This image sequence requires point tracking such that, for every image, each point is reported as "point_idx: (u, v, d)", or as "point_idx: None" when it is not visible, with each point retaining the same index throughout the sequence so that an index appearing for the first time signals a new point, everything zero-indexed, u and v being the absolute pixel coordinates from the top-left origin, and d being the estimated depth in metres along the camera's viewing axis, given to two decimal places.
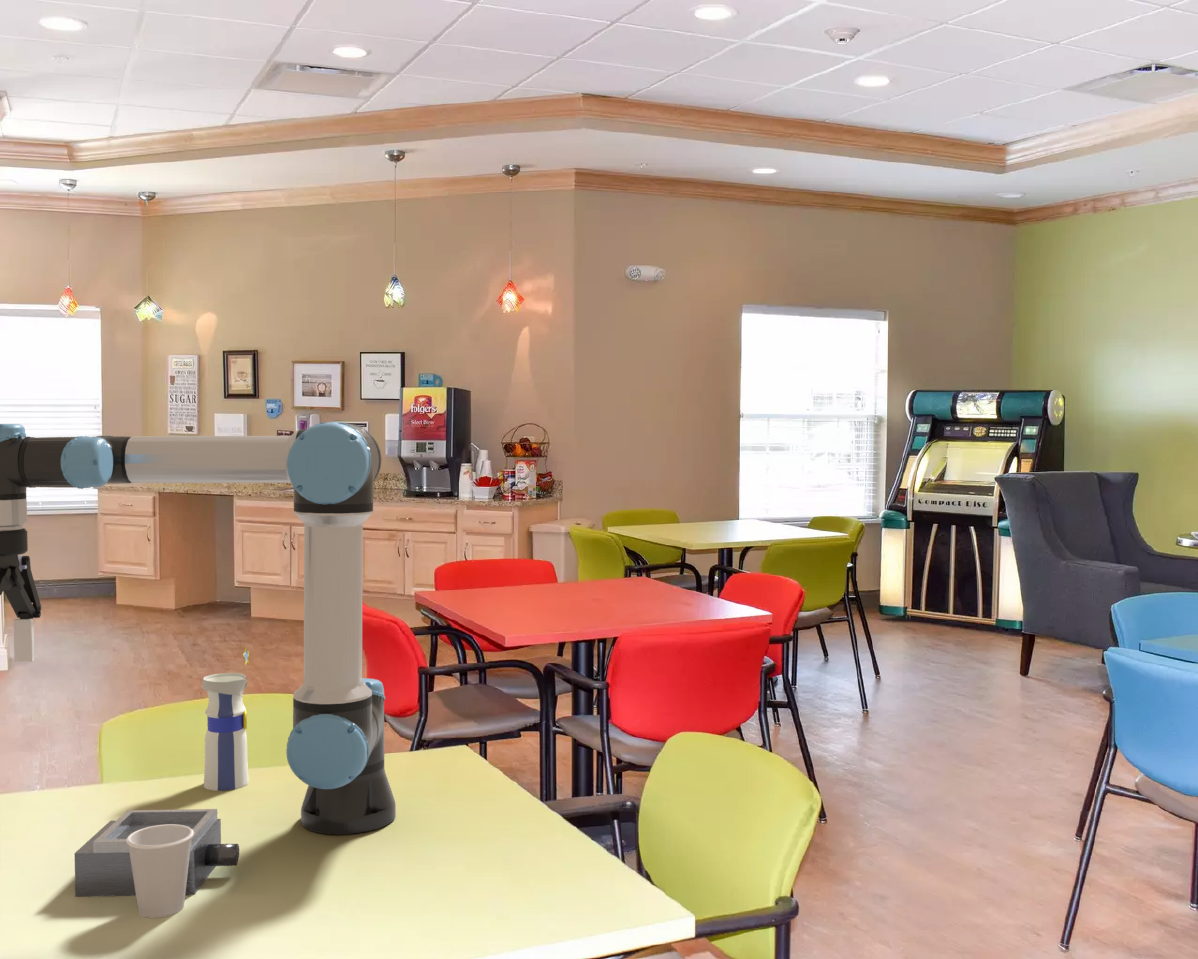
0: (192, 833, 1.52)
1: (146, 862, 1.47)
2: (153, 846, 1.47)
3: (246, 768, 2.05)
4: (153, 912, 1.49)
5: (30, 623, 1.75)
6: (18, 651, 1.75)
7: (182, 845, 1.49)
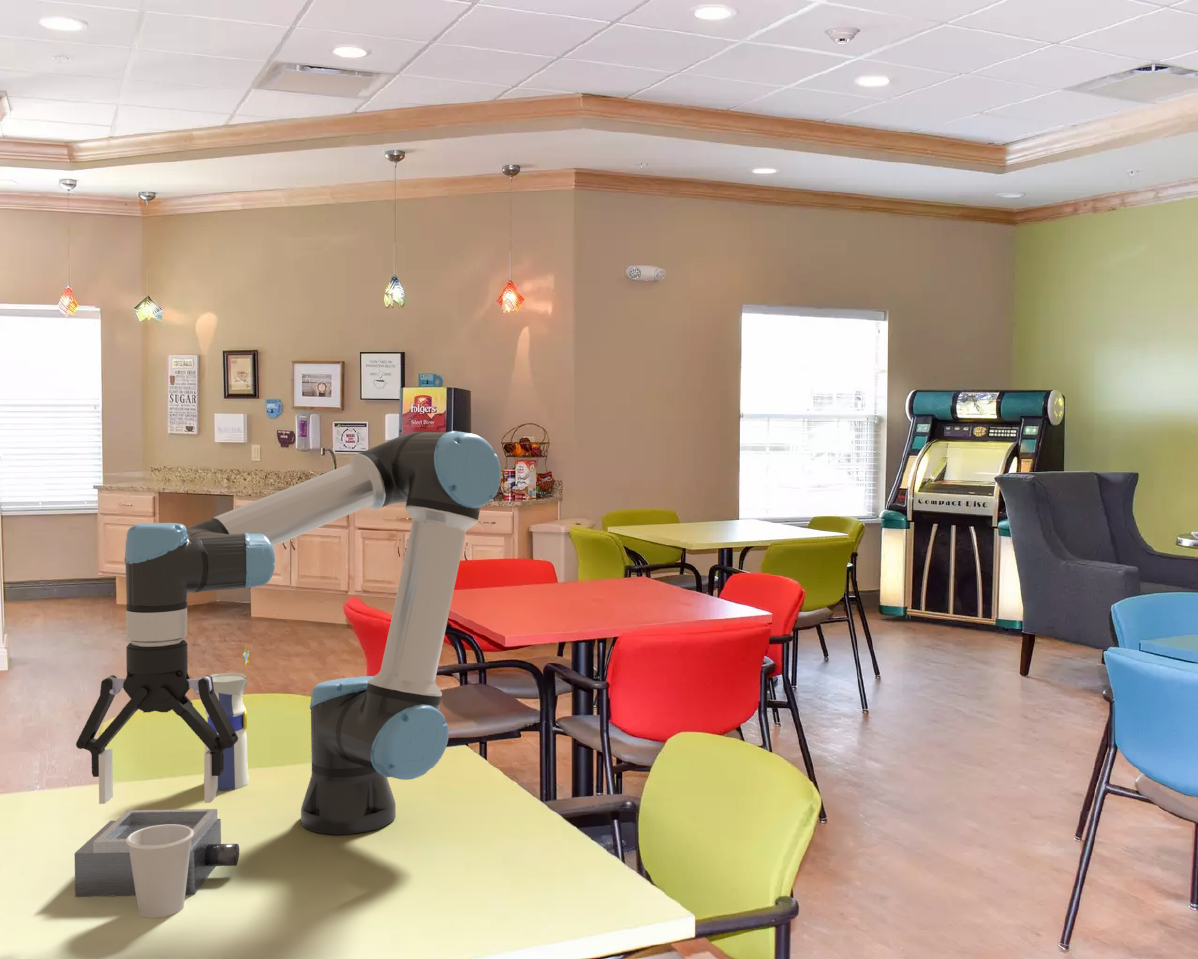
0: (192, 833, 1.52)
1: (146, 862, 1.47)
2: (153, 846, 1.47)
3: (246, 768, 2.05)
4: (153, 912, 1.49)
5: (204, 758, 1.50)
6: None
7: (182, 845, 1.49)
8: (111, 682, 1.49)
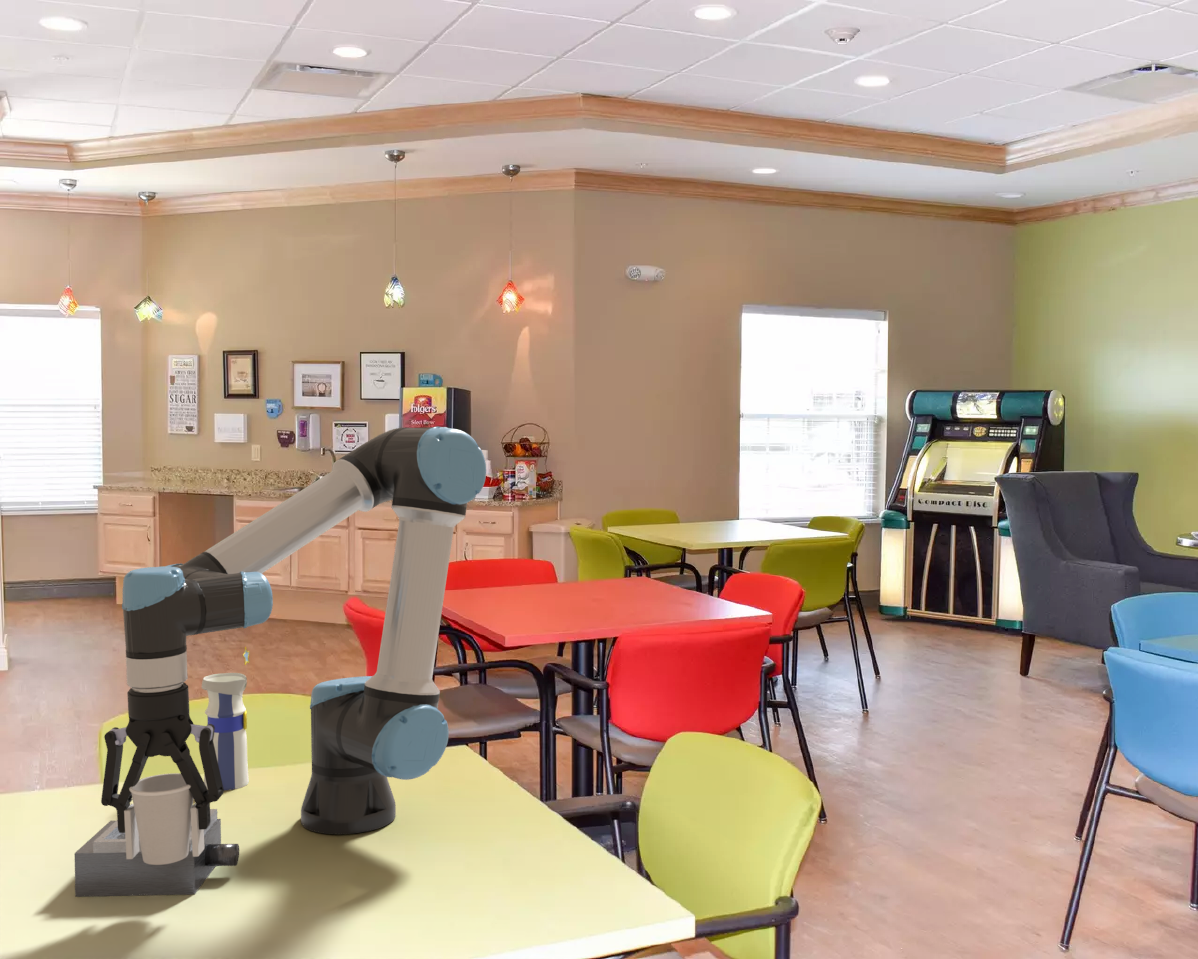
0: None
1: (149, 809, 1.48)
2: (156, 792, 1.47)
3: (246, 768, 2.05)
4: (157, 859, 1.49)
5: (191, 812, 1.50)
6: None
7: (185, 792, 1.49)
8: (114, 734, 1.49)
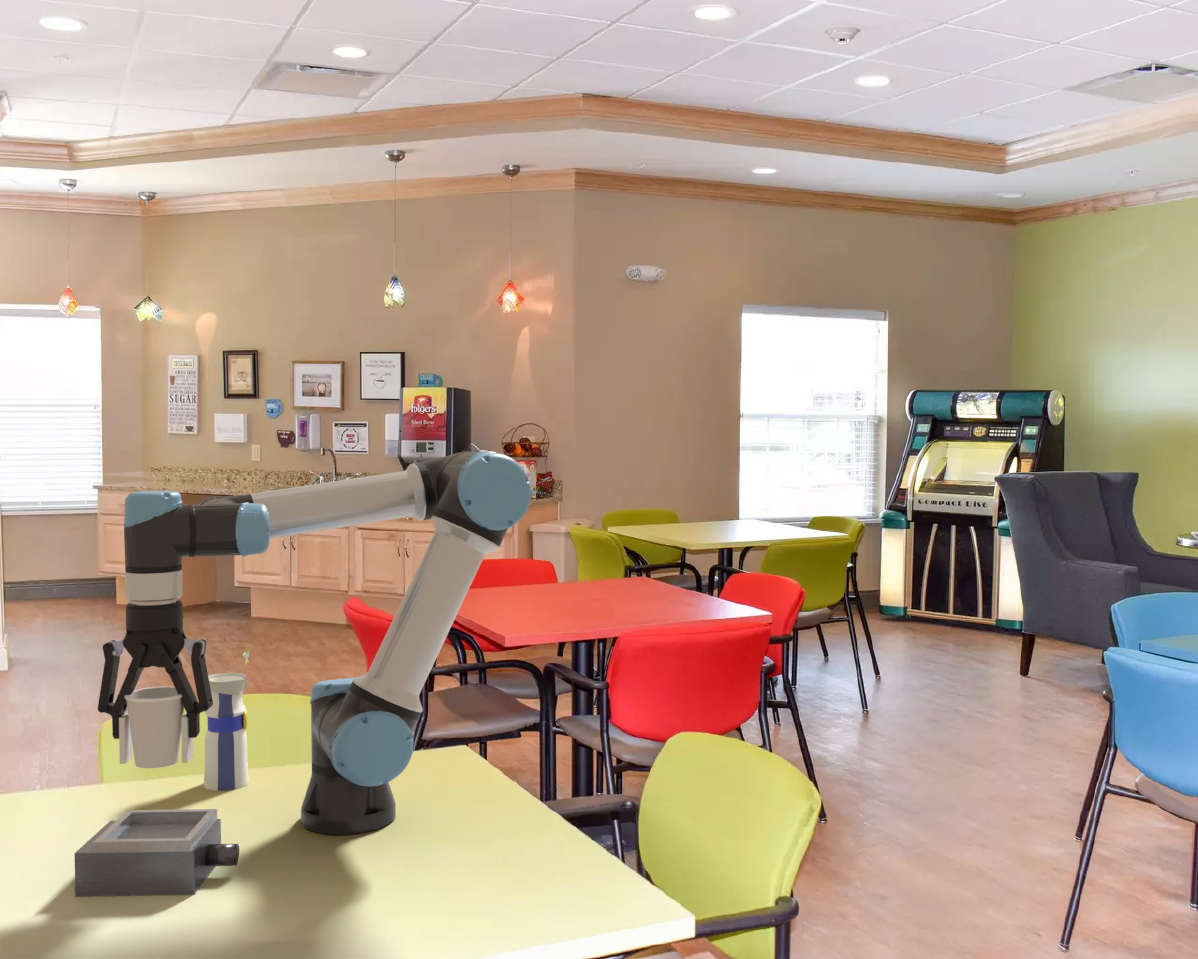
0: None
1: (143, 714, 1.57)
2: (149, 699, 1.57)
3: (246, 768, 2.05)
4: (149, 763, 1.58)
5: (181, 721, 1.60)
6: None
7: (177, 701, 1.59)
8: (111, 645, 1.60)
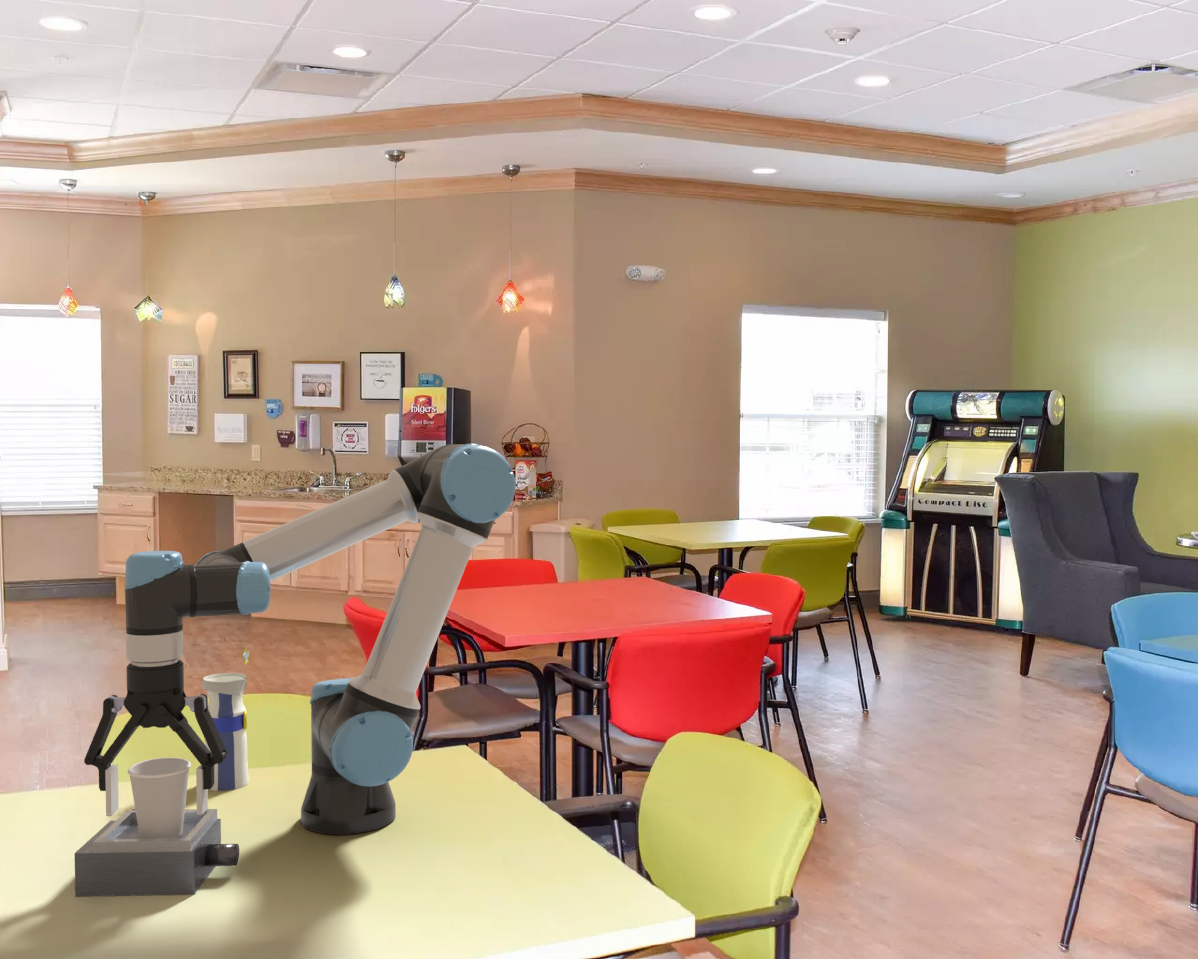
0: (189, 765, 1.62)
1: (146, 790, 1.58)
2: (152, 775, 1.57)
3: (246, 768, 2.05)
4: (153, 837, 1.59)
5: (196, 772, 1.61)
6: None
7: (180, 775, 1.60)
8: (112, 701, 1.60)
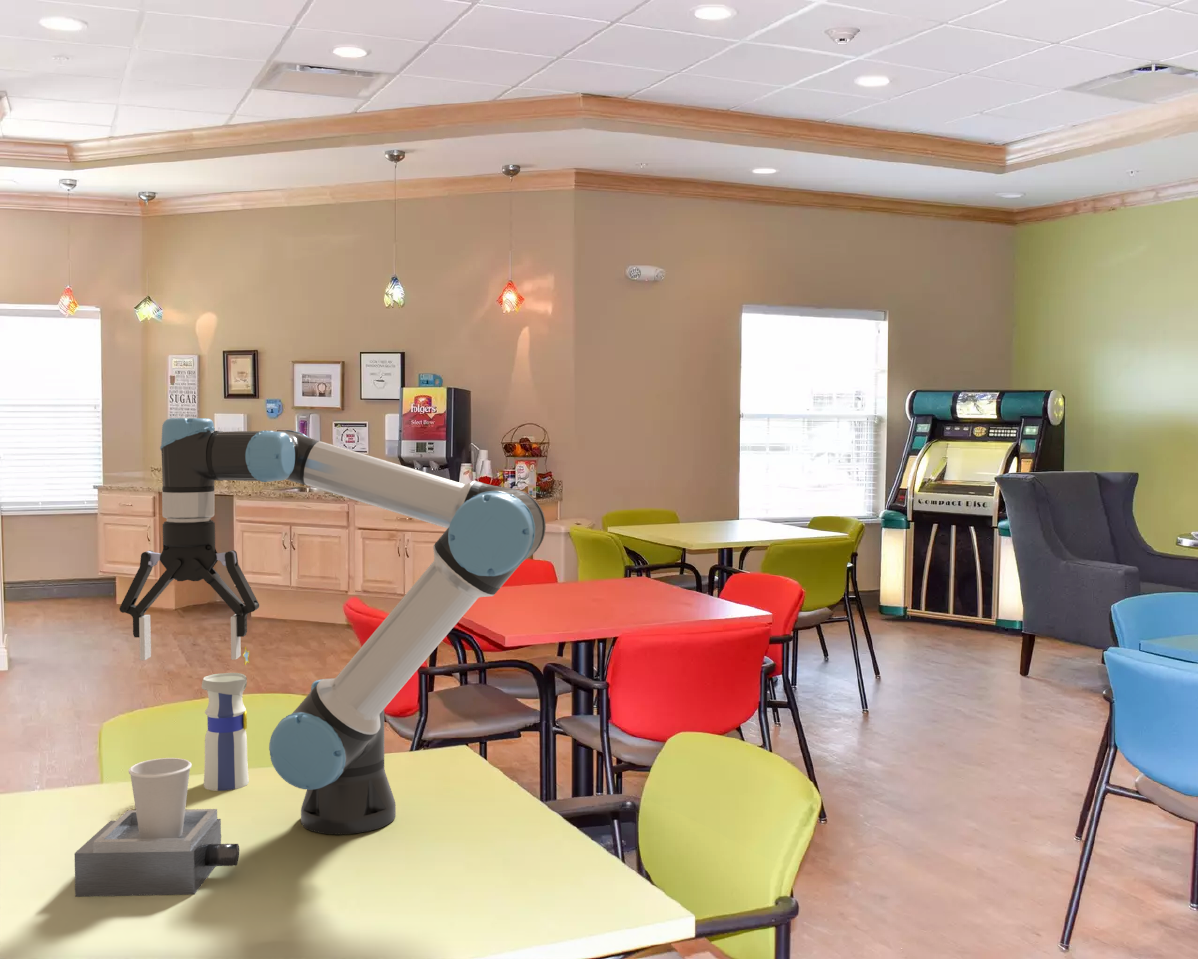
0: (190, 765, 1.62)
1: (147, 790, 1.58)
2: (153, 775, 1.57)
3: (246, 768, 2.05)
4: (153, 837, 1.59)
5: (231, 620, 1.73)
6: None
7: (180, 775, 1.60)
8: (149, 555, 1.72)
